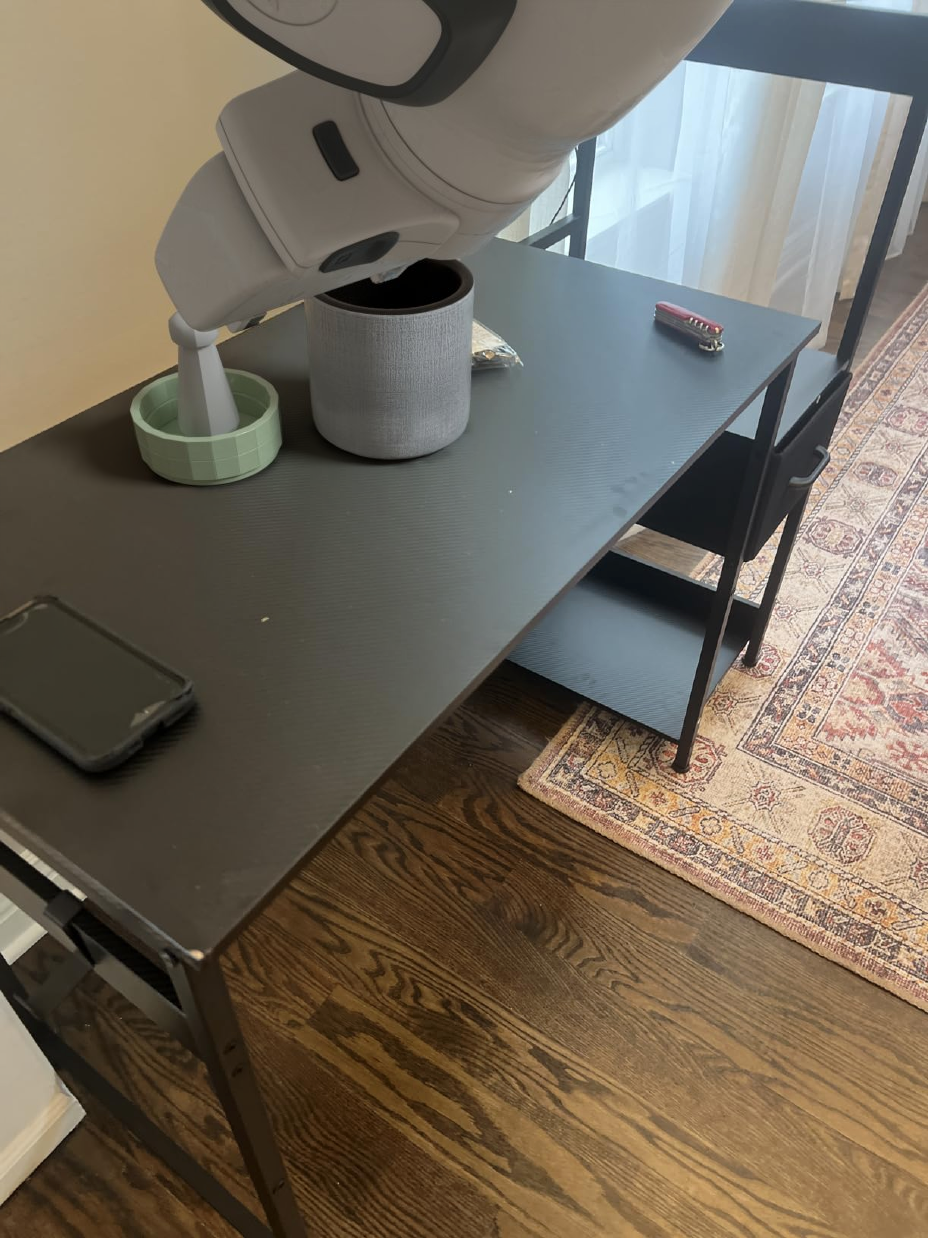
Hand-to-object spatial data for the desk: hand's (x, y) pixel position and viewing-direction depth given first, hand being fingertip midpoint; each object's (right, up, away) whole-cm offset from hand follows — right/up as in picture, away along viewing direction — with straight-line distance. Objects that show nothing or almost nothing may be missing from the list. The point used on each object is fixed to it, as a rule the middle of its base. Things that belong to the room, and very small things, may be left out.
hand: (309, 291), depth 50 cm
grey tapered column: (-16, 0, +41) cm, 44 cm away
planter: (+1, +2, +46) cm, 46 cm away
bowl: (-16, -1, +41) cm, 45 cm away
